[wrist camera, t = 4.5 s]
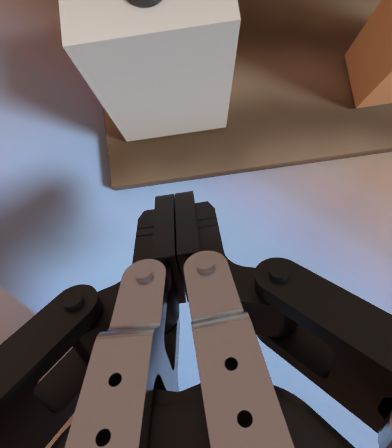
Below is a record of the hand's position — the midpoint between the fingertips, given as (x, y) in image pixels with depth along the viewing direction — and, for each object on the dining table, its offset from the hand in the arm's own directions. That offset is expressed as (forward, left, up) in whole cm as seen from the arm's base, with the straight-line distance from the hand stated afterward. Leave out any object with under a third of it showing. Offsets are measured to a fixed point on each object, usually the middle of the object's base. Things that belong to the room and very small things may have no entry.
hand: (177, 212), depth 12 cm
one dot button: (-6, -7, -8) cm, 12 cm away
